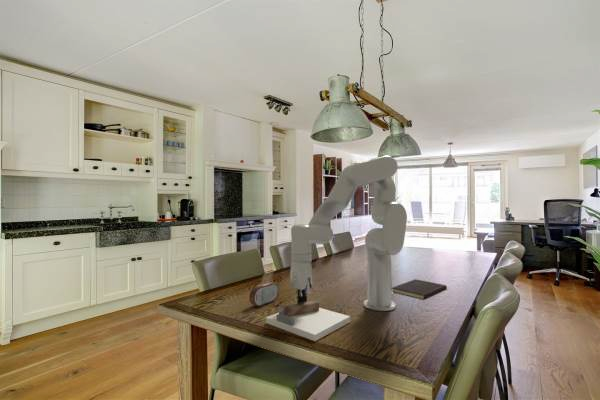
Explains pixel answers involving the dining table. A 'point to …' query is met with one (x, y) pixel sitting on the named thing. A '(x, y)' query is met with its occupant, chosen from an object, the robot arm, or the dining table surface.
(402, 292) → the hardcover book
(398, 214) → the robot arm
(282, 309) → the folding leg
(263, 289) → the tin
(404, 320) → the dining table surface
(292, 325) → the white flat square panel
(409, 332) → the dining table surface
